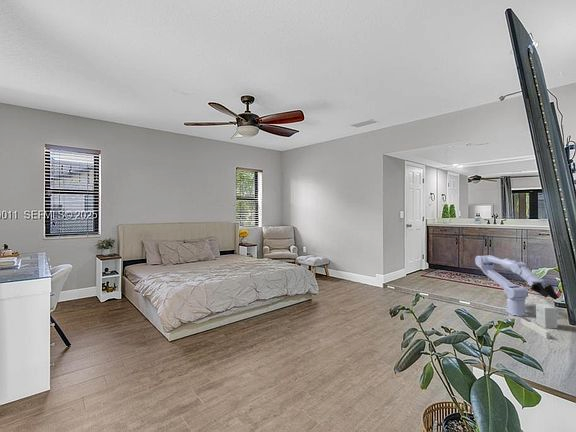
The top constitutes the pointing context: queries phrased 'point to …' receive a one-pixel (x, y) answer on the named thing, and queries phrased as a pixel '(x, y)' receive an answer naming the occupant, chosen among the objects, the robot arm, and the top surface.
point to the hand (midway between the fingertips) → (552, 297)
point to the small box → (546, 315)
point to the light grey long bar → (535, 327)
